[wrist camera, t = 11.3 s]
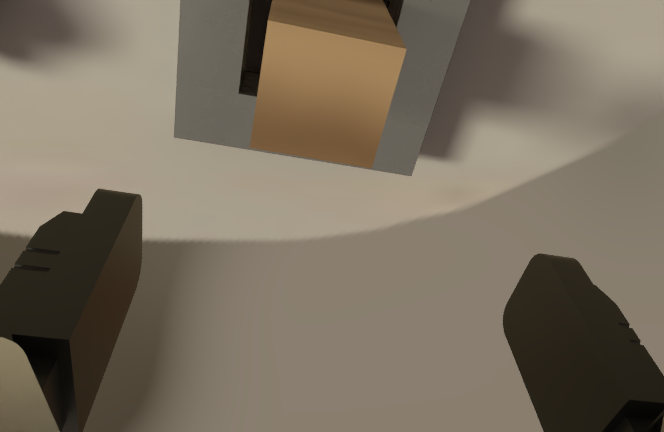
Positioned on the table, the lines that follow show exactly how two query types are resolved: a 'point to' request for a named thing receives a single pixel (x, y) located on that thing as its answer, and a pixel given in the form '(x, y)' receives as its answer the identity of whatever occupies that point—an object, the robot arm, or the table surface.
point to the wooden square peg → (327, 79)
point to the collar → (242, 87)
